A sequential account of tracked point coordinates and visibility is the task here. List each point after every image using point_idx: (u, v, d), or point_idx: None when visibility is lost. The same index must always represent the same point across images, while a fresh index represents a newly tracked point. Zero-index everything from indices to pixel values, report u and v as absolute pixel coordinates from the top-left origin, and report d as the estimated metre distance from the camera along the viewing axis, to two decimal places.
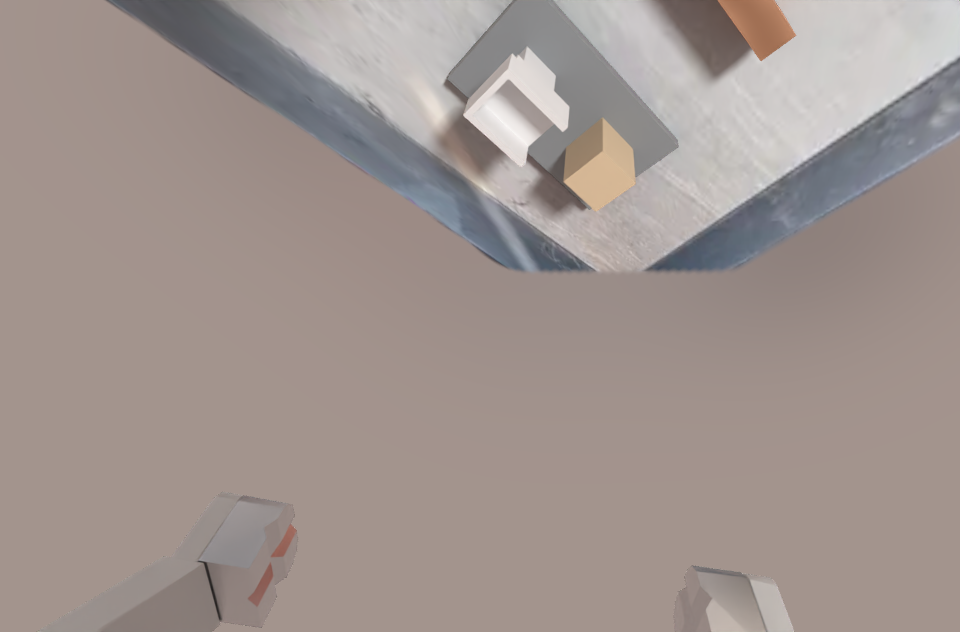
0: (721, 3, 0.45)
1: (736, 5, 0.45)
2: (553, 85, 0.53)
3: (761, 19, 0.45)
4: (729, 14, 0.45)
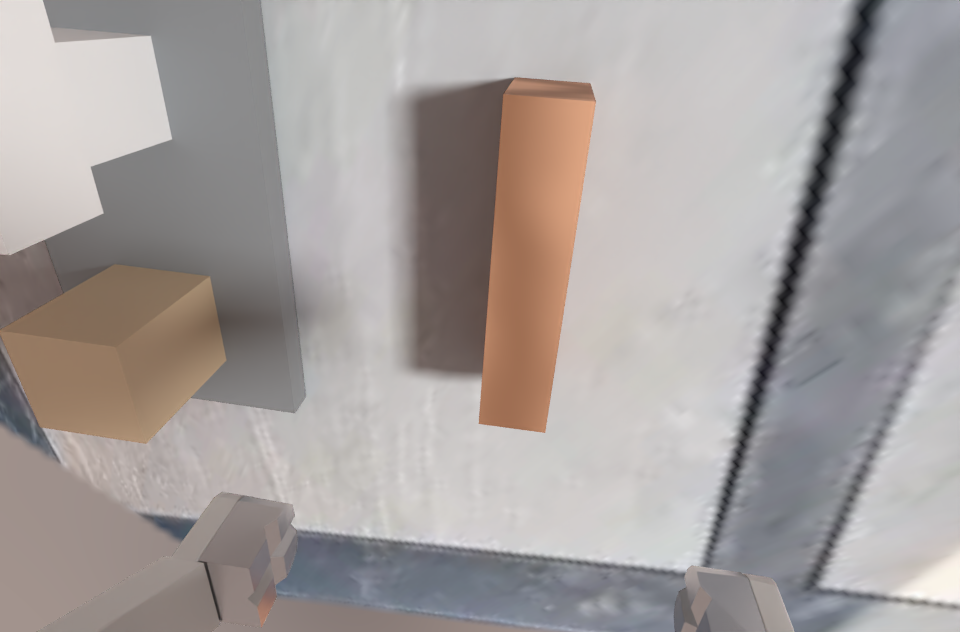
0: (490, 300, 0.22)
1: (507, 323, 0.22)
2: (134, 147, 0.22)
3: (522, 373, 0.23)
4: (488, 326, 0.22)
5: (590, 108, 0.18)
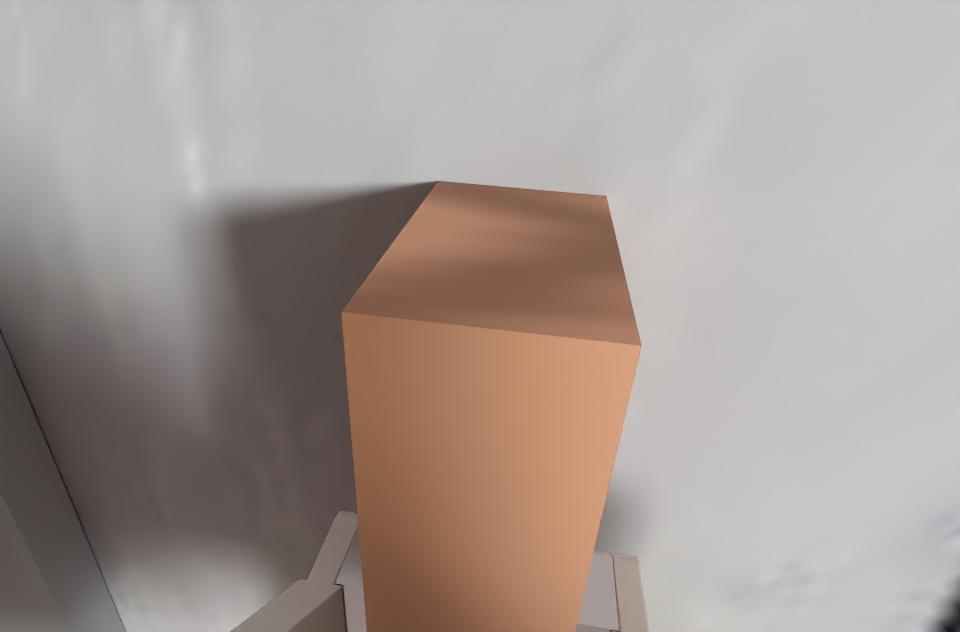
0: None
1: None
2: None
3: None
4: None
5: (623, 363, 0.05)
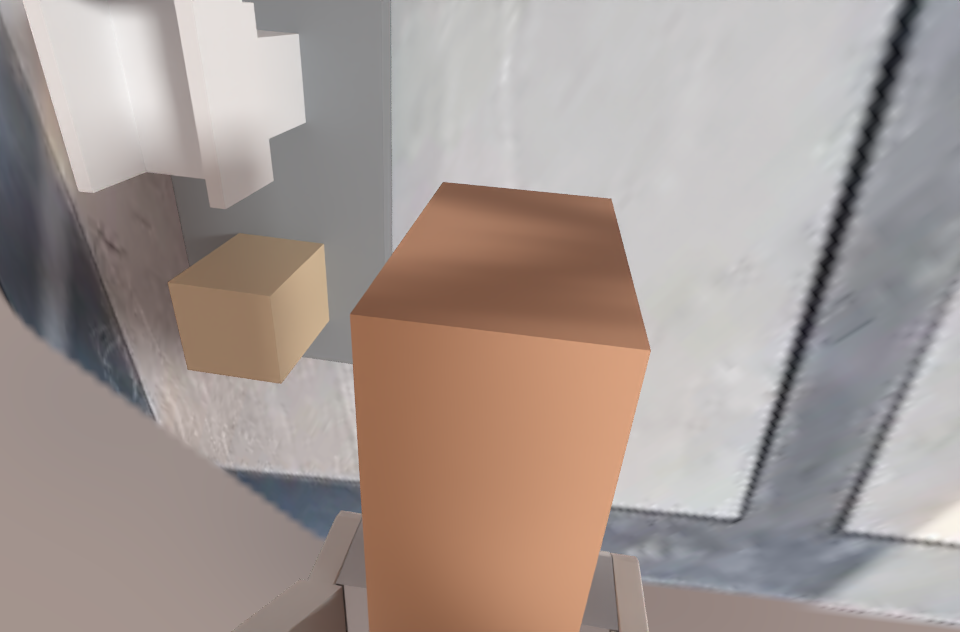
0: None
1: None
2: (285, 128, 0.26)
3: None
4: None
5: (631, 367, 0.05)
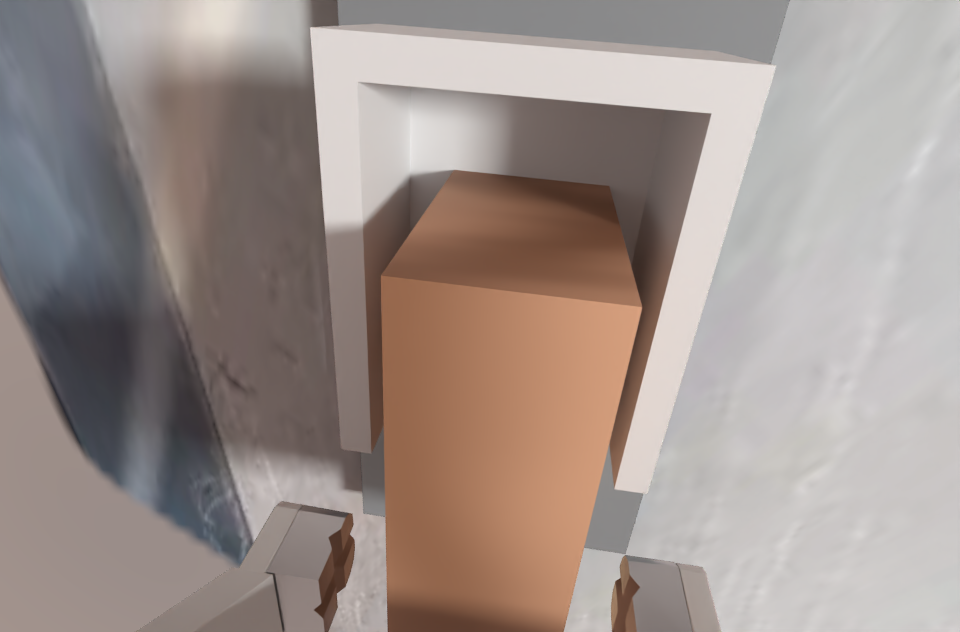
0: None
1: None
2: None
3: None
4: None
5: (626, 322, 0.06)
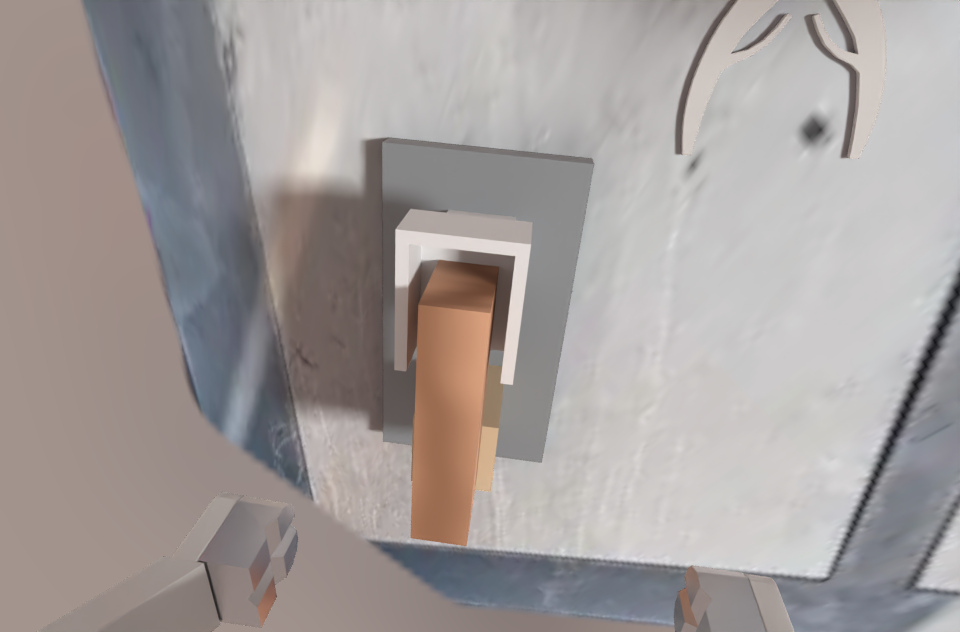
0: (415, 446, 0.26)
1: (431, 464, 0.27)
2: None
3: (445, 500, 0.28)
4: (415, 465, 0.27)
5: (486, 317, 0.23)
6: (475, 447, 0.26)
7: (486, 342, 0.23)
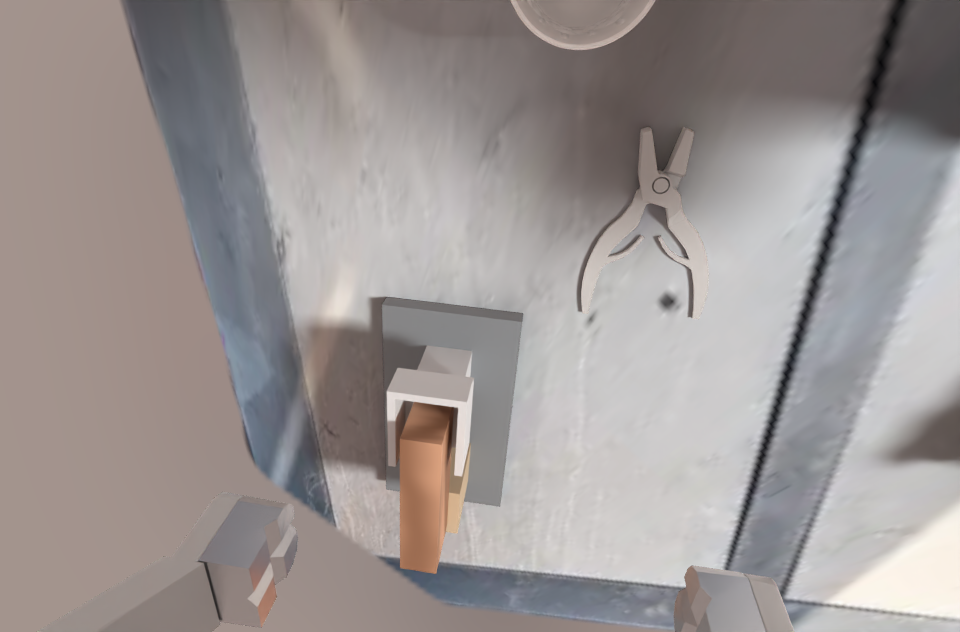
0: (401, 514, 0.42)
1: (411, 524, 0.43)
2: None
3: (421, 546, 0.44)
4: (401, 525, 0.43)
5: (439, 447, 0.38)
6: (438, 516, 0.42)
7: (440, 459, 0.39)
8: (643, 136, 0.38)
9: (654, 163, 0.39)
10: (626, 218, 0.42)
